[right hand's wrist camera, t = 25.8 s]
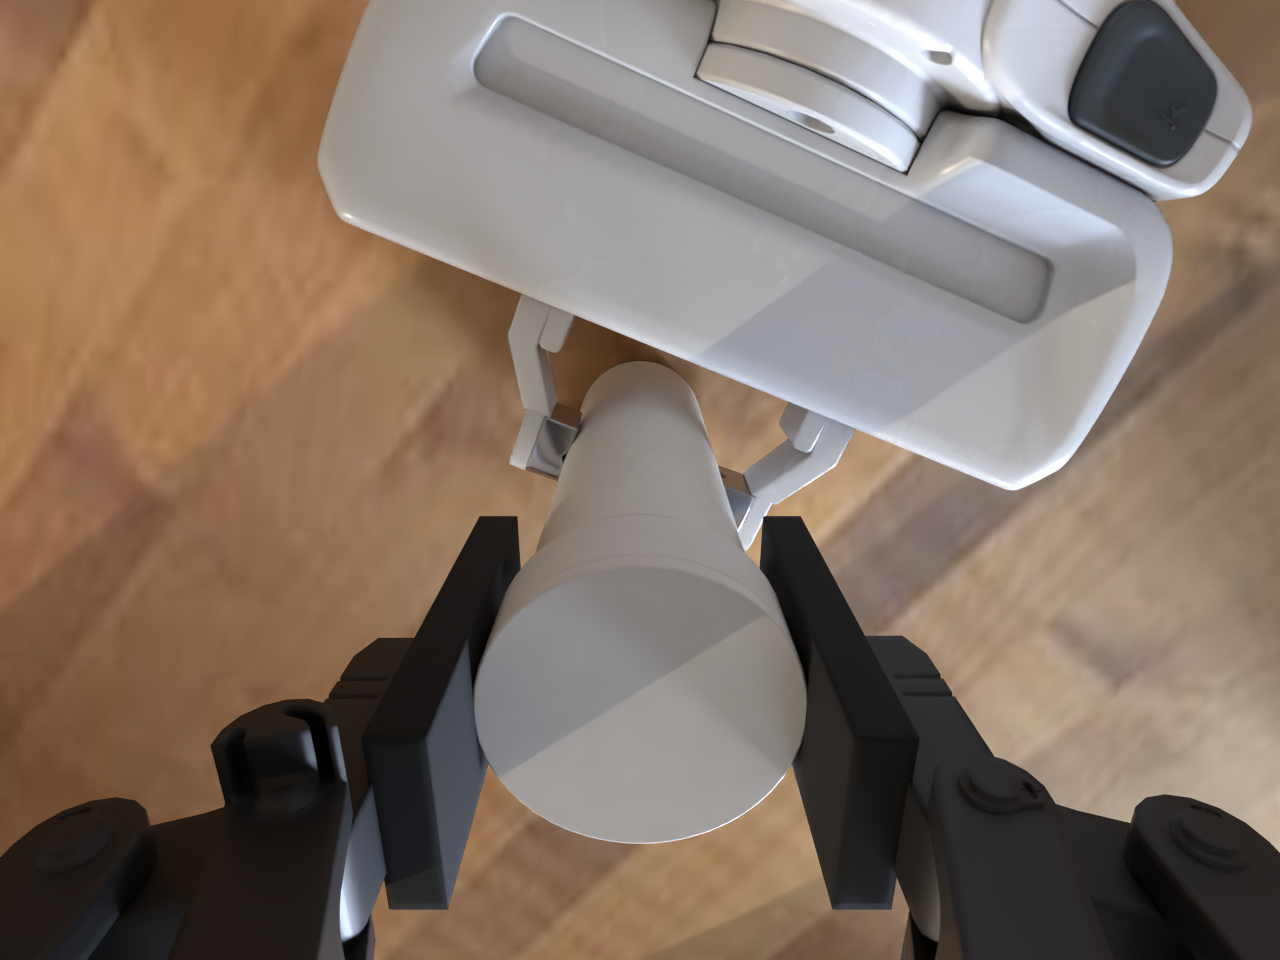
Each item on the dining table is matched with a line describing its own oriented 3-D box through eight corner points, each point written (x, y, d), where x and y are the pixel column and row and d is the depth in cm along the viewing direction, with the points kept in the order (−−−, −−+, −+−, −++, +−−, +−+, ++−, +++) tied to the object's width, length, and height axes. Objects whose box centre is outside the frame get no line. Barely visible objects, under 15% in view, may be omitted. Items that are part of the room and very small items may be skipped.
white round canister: (440, 586, 12) (407, 649, 10) (715, 463, 11) (728, 508, 9) (578, 797, 13) (569, 883, 12) (827, 702, 13) (856, 779, 11)
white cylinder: (563, 382, 26) (460, 602, 11) (679, 344, 25) (734, 519, 11) (603, 490, 27) (560, 812, 12) (714, 456, 27) (805, 748, 12)
